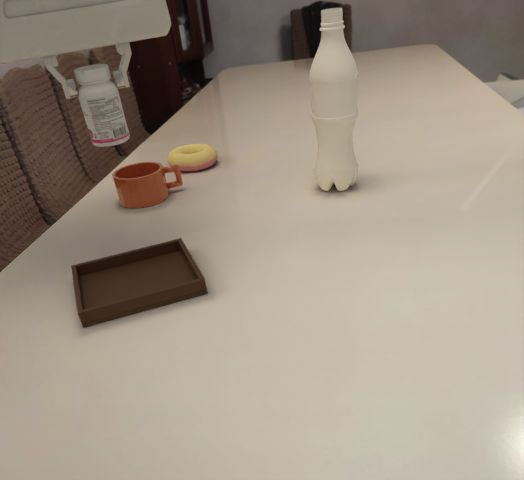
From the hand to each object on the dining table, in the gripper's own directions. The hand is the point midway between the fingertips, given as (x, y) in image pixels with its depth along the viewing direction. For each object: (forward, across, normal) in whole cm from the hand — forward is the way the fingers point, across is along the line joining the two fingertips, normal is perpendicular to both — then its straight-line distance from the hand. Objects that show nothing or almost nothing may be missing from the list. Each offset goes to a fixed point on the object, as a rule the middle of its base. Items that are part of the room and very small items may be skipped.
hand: (97, 92), depth 63 cm
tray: (+21, +2, +9) cm, 23 cm away
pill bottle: (+6, 0, 0) cm, 6 cm away
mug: (+21, -6, -22) cm, 31 cm away
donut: (+22, -16, -34) cm, 43 cm away
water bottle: (+22, -34, -7) cm, 41 cm away
